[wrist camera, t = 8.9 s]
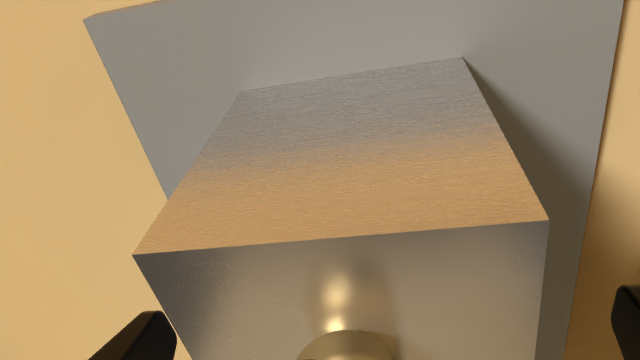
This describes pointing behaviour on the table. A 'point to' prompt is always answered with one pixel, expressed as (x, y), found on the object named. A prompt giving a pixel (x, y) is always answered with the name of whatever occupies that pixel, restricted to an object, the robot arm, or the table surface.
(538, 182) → the rubber mat
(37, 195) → the table surface
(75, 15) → the table surface
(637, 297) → the robot arm
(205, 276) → the lever cap
